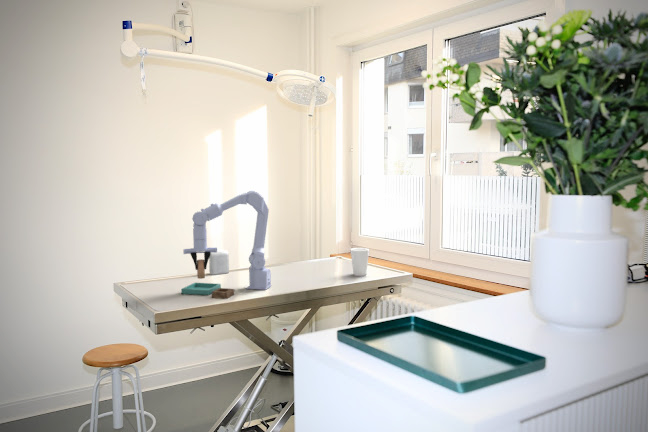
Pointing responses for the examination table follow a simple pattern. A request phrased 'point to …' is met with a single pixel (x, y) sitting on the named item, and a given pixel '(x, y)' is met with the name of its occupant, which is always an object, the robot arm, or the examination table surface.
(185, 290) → the teal tray
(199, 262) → the dowel
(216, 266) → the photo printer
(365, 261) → the foam cup
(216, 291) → the walnut holder
